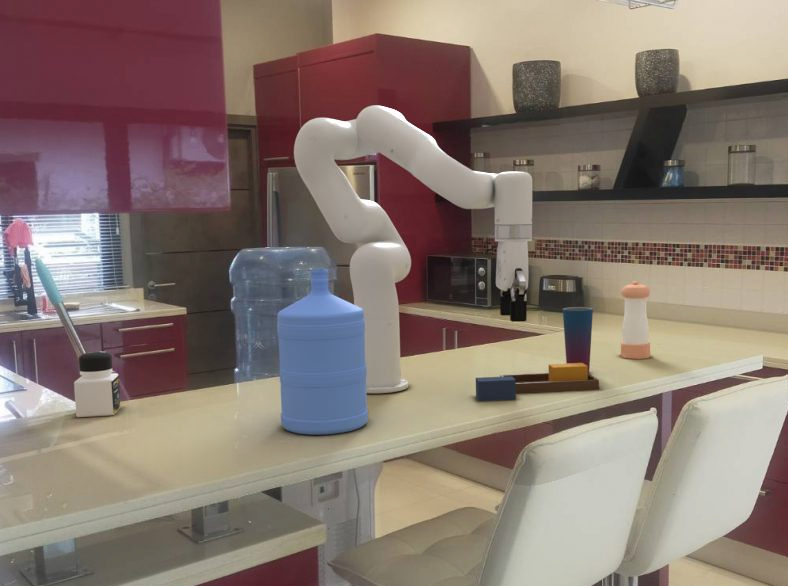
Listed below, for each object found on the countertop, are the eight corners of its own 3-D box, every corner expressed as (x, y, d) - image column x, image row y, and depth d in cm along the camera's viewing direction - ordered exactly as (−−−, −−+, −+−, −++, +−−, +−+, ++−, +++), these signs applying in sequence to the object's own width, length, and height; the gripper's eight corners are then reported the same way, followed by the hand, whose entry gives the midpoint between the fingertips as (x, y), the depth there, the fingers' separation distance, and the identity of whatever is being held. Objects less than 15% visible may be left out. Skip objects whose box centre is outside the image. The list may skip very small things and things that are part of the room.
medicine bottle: (114, 415, 168) (110, 354, 167) (76, 417, 167) (71, 356, 165) (121, 407, 175) (117, 349, 174) (84, 409, 174) (80, 351, 172)
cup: (591, 370, 201) (591, 306, 200) (594, 376, 195) (594, 310, 193) (562, 370, 202) (561, 307, 200) (564, 376, 195) (563, 310, 194)
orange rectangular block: (553, 386, 183) (552, 367, 182) (548, 382, 187) (548, 364, 186) (587, 384, 183) (587, 366, 183) (582, 380, 187) (582, 362, 187)
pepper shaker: (655, 355, 219) (655, 280, 217) (641, 359, 214) (641, 282, 212) (629, 353, 224) (629, 279, 222) (615, 357, 219) (615, 281, 216)
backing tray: (508, 393, 179) (508, 384, 179) (500, 383, 189) (499, 374, 189) (599, 389, 181) (599, 380, 180) (585, 380, 191) (585, 371, 190)
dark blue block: (478, 401, 172) (478, 381, 172) (475, 396, 176) (475, 377, 176) (515, 399, 173) (515, 379, 173) (512, 395, 177) (511, 376, 177)
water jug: (384, 427, 153) (379, 269, 150) (302, 441, 145) (296, 275, 142) (344, 411, 167) (339, 266, 163) (267, 423, 158) (260, 271, 155)
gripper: (486, 232, 182) (486, 313, 184) (503, 235, 165) (503, 324, 167) (521, 232, 183) (521, 312, 185) (542, 235, 166) (541, 323, 168)
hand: (512, 318), depth 176 cm, fingers open, 9 cm apart
